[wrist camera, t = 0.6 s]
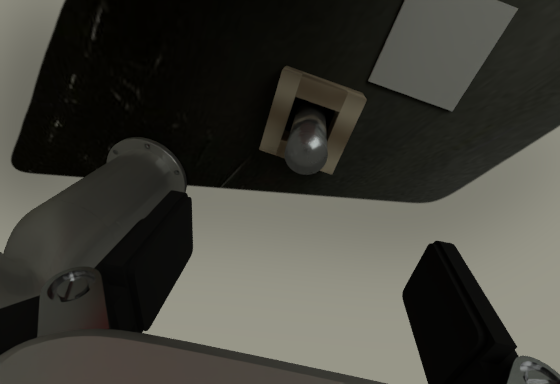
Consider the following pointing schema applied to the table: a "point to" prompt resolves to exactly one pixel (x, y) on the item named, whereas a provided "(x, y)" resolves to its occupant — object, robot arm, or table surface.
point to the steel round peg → (307, 140)
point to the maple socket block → (319, 93)
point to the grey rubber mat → (439, 47)
